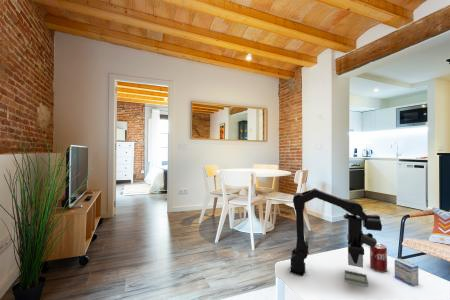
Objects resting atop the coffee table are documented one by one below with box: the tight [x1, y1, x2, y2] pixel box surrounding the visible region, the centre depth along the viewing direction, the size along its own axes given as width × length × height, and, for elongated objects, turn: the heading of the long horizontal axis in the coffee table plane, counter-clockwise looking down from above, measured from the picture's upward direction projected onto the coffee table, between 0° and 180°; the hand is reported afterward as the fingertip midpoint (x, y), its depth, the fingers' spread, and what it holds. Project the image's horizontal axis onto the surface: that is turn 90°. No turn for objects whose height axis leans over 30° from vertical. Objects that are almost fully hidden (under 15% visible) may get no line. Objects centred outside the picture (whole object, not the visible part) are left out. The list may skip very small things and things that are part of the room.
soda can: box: [369, 243, 388, 273], centre depth 116 cm, size 7×7×12 cm
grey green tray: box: [344, 270, 369, 288], centre depth 106 cm, size 9×7×2 cm
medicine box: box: [394, 258, 420, 287], centre depth 106 cm, size 8×4×9 cm, turn 21°
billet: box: [347, 251, 364, 269], centre depth 107 cm, size 6×4×7 cm, turn 62°
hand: (355, 261), depth 107 cm, fingers closed on billet, 4 cm apart
